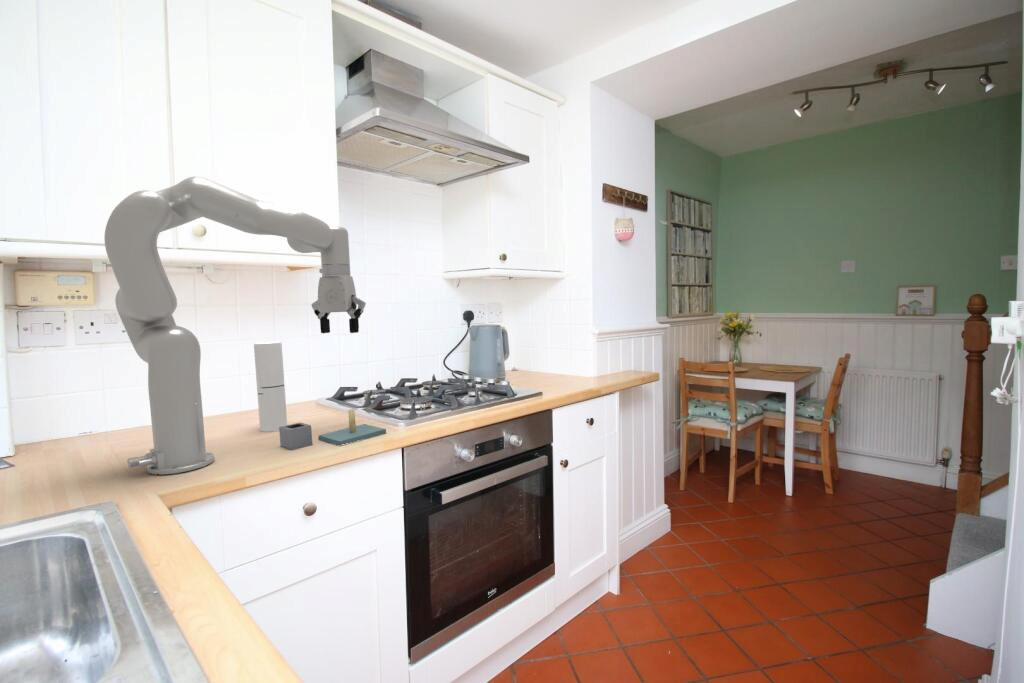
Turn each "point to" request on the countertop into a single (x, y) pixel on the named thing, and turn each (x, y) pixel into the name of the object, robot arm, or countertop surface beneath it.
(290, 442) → the grey square nut block
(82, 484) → the countertop surface
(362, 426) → the teal peg base
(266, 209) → the robot arm
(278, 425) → the grey piece
